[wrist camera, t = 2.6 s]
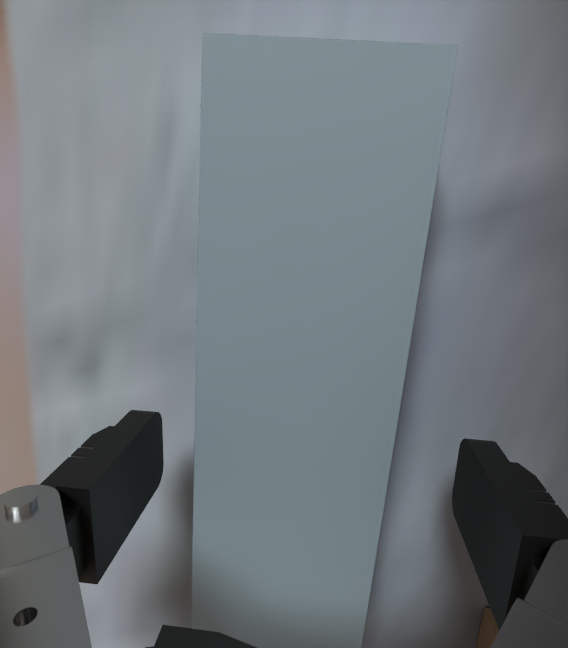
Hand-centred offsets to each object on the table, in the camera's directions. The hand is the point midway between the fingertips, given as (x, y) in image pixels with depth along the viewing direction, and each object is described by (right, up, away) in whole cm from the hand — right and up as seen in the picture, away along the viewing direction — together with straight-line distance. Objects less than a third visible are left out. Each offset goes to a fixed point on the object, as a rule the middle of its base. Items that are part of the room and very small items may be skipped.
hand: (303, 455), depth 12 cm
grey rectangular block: (0, +1, +3) cm, 3 cm away
